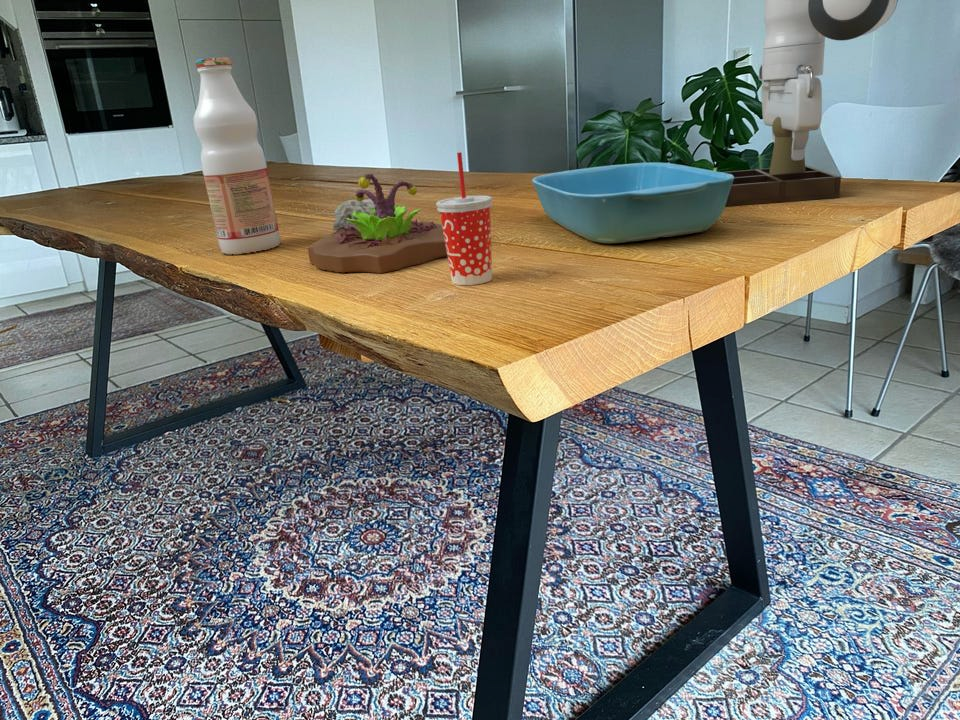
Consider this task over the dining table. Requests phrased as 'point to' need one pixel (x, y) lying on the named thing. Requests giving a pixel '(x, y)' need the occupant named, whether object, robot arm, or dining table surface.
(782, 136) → the cork
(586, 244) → the dining table surface
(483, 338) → the dining table surface
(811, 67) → the robot arm
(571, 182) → the casserole dish
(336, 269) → the plant
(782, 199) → the compartment tray
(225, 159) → the fruit juice
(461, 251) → the beverage cup
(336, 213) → the decorative stone
